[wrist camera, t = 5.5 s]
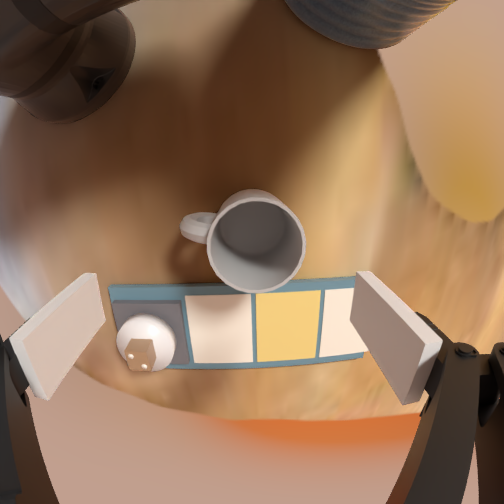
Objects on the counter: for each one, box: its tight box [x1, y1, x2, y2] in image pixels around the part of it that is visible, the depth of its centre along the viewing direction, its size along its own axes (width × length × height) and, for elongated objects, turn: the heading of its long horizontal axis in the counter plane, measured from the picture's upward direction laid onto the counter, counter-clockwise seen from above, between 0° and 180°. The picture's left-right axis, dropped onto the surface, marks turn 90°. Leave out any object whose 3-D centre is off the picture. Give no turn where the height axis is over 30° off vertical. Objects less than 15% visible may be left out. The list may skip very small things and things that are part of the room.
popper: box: [116, 313, 176, 371], centre depth 28 cm, size 6×6×4 cm
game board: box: [108, 276, 369, 369], centre depth 32 cm, size 11×31×2 cm, turn 92°
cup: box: [180, 189, 306, 293], centre depth 26 cm, size 7×10×9 cm
